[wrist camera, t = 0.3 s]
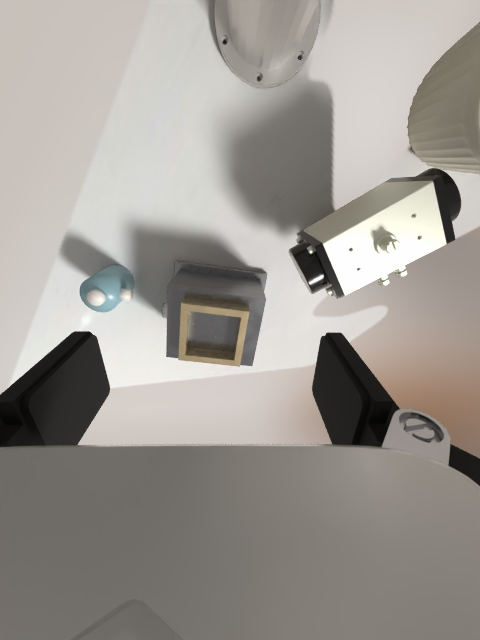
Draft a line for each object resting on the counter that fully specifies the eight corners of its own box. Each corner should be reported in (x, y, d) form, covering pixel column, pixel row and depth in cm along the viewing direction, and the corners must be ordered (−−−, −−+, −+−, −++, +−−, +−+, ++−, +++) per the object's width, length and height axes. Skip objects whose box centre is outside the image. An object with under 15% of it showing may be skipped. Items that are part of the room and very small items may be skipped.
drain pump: (100, 262, 45) (72, 278, 37) (142, 268, 45) (122, 284, 38) (103, 292, 47) (78, 313, 39) (142, 297, 48) (124, 318, 40)
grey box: (172, 259, 45) (151, 283, 34) (266, 272, 46) (276, 299, 35) (170, 329, 51) (152, 369, 40) (253, 339, 52) (258, 380, 41)
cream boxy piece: (297, 276, 46) (329, 322, 31) (275, 234, 43) (299, 261, 27) (397, 222, 42) (492, 243, 27) (382, 171, 39) (481, 159, 23)
